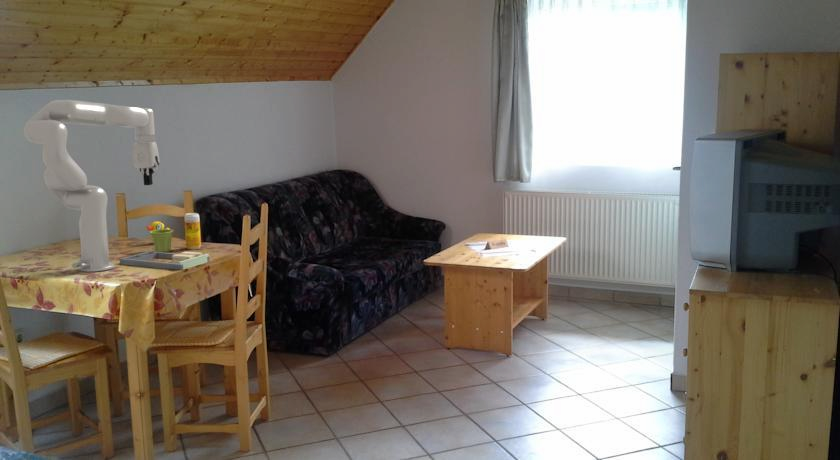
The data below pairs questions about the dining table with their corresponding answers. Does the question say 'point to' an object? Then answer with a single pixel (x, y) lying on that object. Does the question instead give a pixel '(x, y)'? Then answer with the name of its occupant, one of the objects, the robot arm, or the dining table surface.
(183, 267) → the grey shallow tray
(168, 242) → the plant pot
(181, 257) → the birch block
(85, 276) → the dining table surface
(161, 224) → the duckling
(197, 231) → the beer can
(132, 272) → the dining table surface
